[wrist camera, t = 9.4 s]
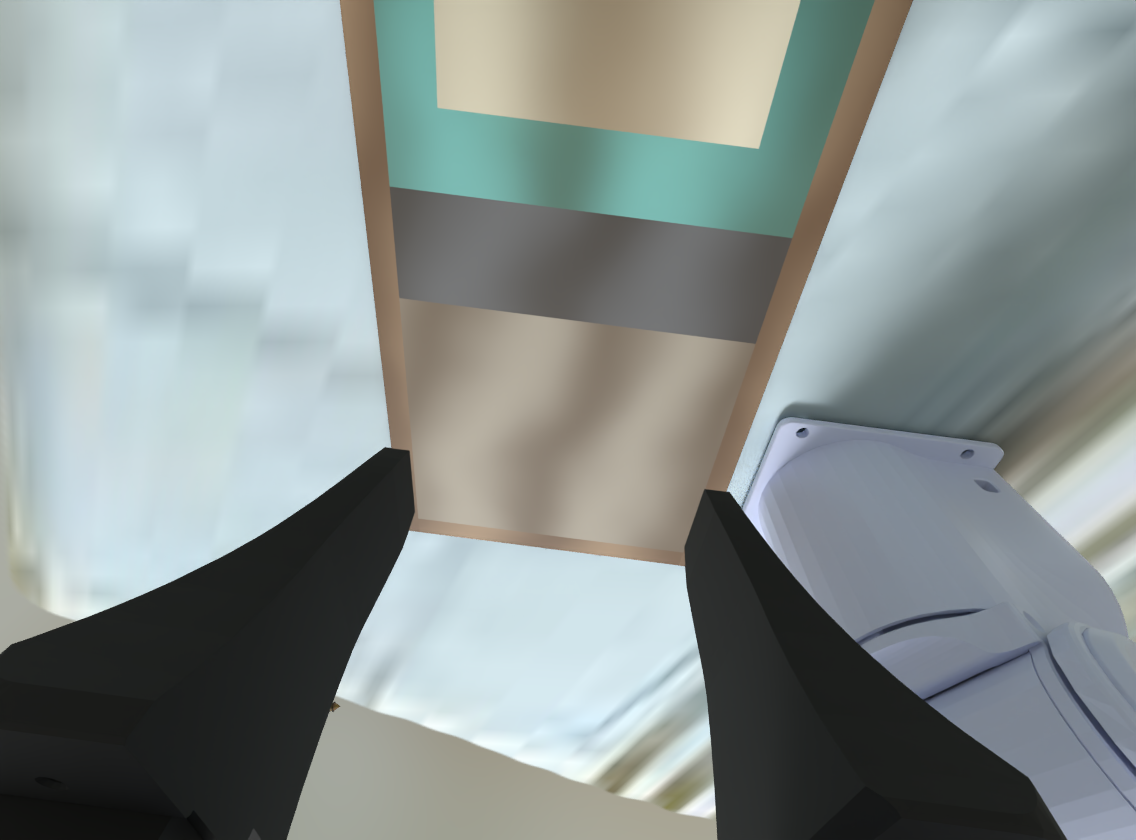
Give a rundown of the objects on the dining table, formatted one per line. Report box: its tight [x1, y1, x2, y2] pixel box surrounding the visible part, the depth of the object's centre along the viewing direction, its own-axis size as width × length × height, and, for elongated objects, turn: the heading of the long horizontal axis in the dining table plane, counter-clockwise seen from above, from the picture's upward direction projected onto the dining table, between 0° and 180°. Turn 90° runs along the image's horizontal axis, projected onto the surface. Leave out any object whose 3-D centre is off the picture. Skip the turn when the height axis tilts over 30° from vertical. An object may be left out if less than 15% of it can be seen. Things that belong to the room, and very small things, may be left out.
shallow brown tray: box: [340, 0, 913, 566], centre depth 17 cm, size 16×34×1 cm, turn 174°
